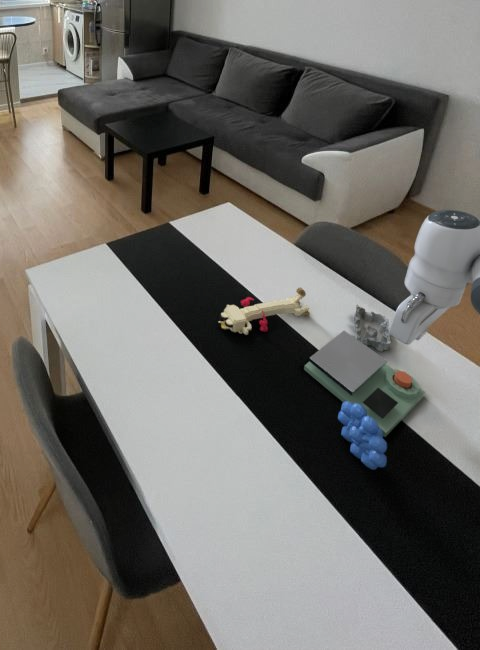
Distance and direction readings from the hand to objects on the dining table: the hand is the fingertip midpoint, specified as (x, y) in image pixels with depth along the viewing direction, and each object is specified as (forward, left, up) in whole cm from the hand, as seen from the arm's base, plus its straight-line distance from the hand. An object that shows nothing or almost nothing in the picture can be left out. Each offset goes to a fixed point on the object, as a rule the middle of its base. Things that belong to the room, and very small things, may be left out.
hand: (417, 335), depth 90 cm
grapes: (-2, +20, -17) cm, 27 cm away
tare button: (0, 0, -15) cm, 15 cm away
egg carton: (+12, -10, -17) cm, 23 cm away
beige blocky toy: (+30, +9, -17) cm, 35 cm away
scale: (+6, +5, -17) cm, 19 cm away
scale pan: (+6, +5, -14) cm, 16 cm away
